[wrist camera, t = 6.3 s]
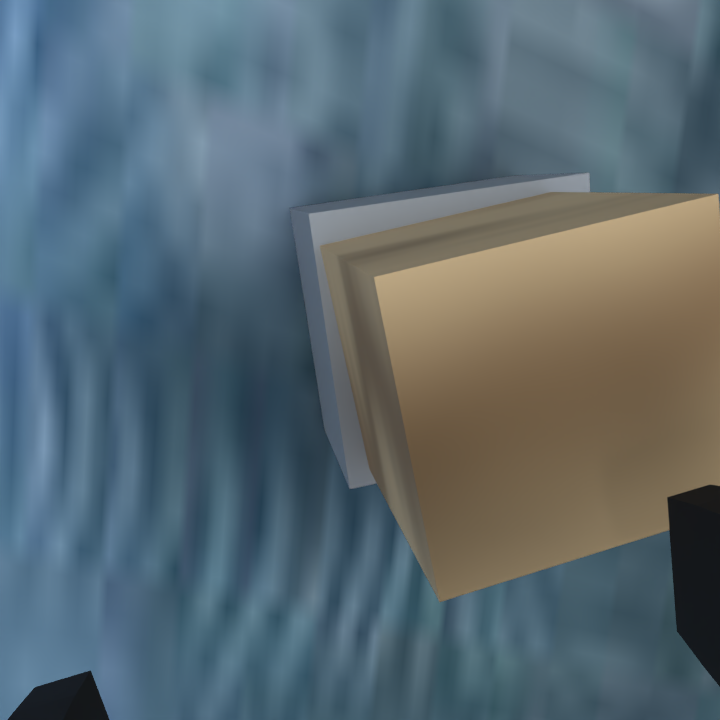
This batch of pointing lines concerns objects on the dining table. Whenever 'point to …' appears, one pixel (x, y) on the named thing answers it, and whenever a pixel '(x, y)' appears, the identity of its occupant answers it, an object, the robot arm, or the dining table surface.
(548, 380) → the wooden cube
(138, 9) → the dining table surface
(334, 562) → the dining table surface
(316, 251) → the grey block
